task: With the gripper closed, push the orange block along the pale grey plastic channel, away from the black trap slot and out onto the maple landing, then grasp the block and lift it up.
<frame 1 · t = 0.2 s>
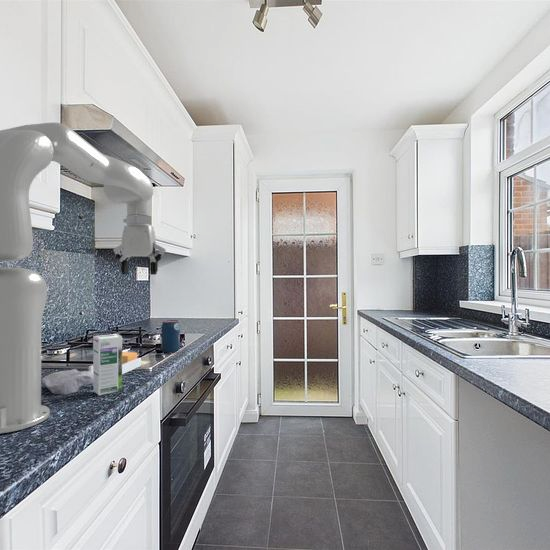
hand: (139, 274, 117), 30 cm above the worktop, tool pointing down, fingers open, 9 cm apart
soda can: (170, 352, 139), on the worktop
syrup box: (107, 391, 92), on the worktop
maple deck: (121, 371, 111), on the worktop
orange block: (125, 366, 113), point 1 cm above the worktop, touching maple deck
channel walls: (121, 371, 111), on the worktop
stone block: (65, 388, 95), on the worktop
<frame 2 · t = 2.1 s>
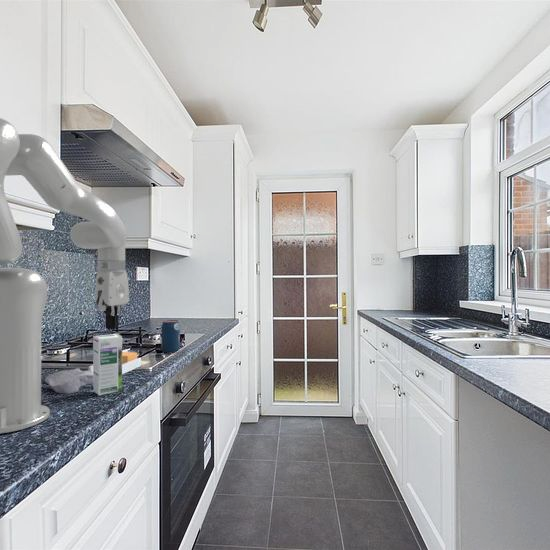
hand: (112, 328, 106), 14 cm above the worktop, tool pointing down, fingers closed
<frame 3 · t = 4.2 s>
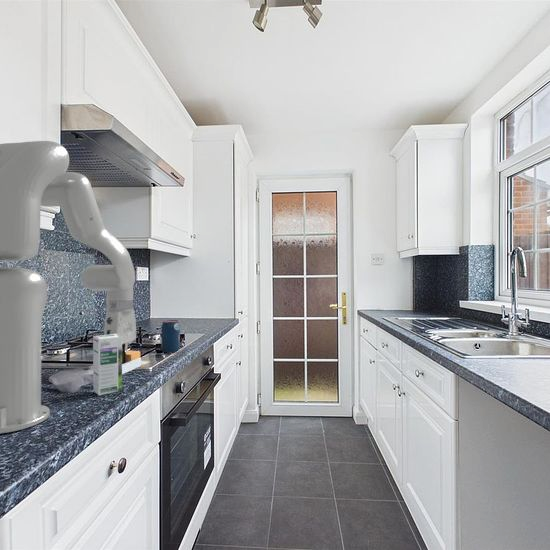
hand: (119, 365, 110), 2 cm above the worktop, tool pointing down, fingers closed
orange block: (128, 364, 114), point 1 cm above the worktop, touching gripper
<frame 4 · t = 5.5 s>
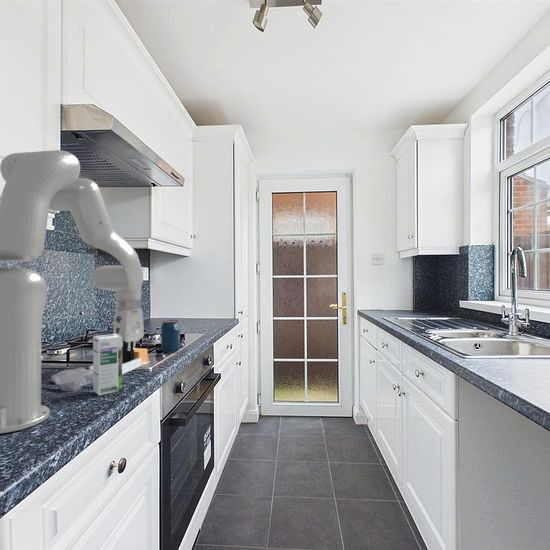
hand: (128, 362, 114), 2 cm above the worktop, tool pointing down, fingers closed
orange block: (136, 361, 119), point 1 cm above the worktop, touching gripper, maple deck
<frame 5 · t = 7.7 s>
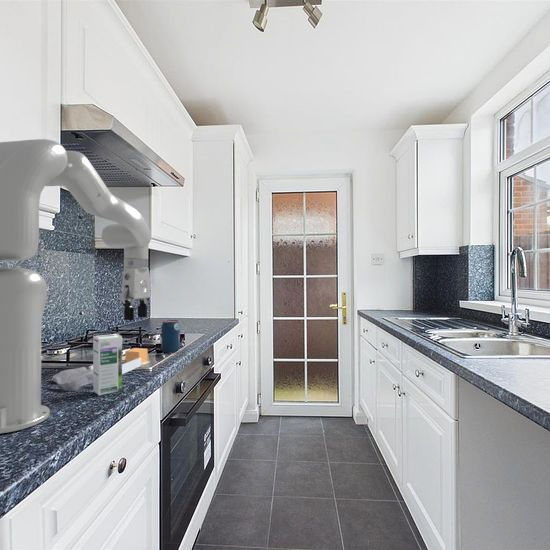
hand: (135, 318, 118), 16 cm above the worktop, tool pointing down, fingers open, 6 cm apart
orange block: (136, 361, 119), point 1 cm above the worktop, touching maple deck
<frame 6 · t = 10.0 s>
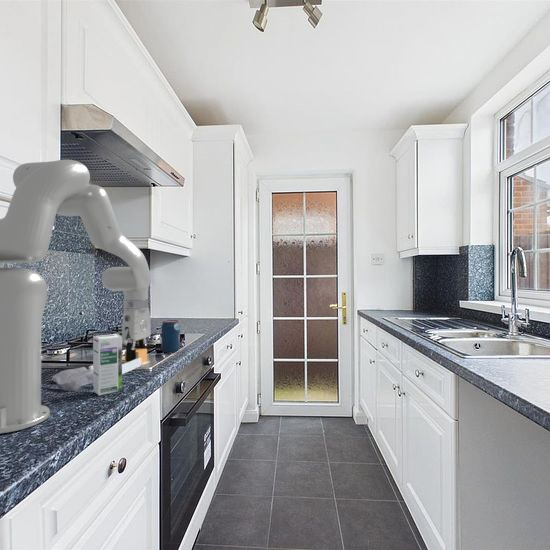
hand: (136, 358, 118), 2 cm above the worktop, tool pointing down, fingers closed on orange block, 5 cm apart
orange block: (136, 362, 118), point 1 cm above the worktop, touching gripper, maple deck
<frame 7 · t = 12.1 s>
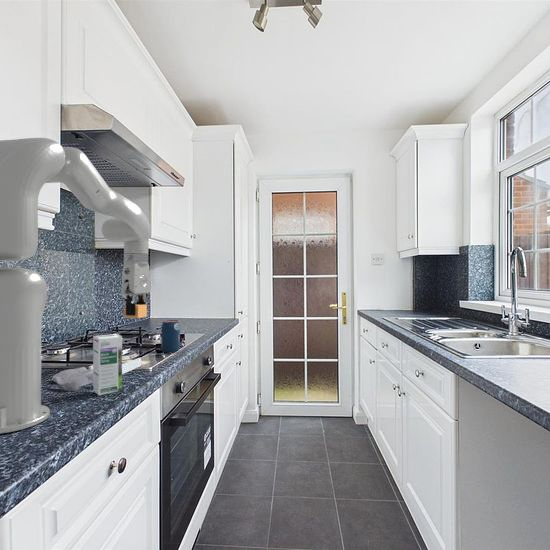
hand: (135, 313, 118), 17 cm above the worktop, tool pointing down, fingers closed on orange block, 4 cm apart
orange block: (135, 317, 118), point 16 cm above the worktop, touching gripper
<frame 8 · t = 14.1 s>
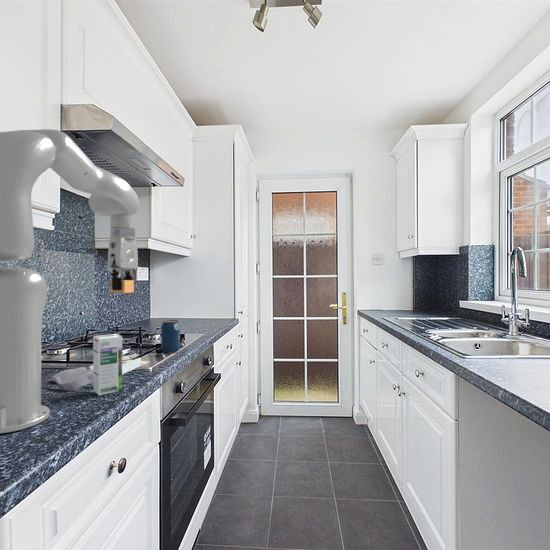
hand: (122, 289, 117), 25 cm above the worktop, tool pointing down, fingers closed on orange block, 4 cm apart
orange block: (122, 292, 117), point 24 cm above the worktop, touching gripper
at the end: the gripper is holding orange block; orange block point 24.3 cm above the worktop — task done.
